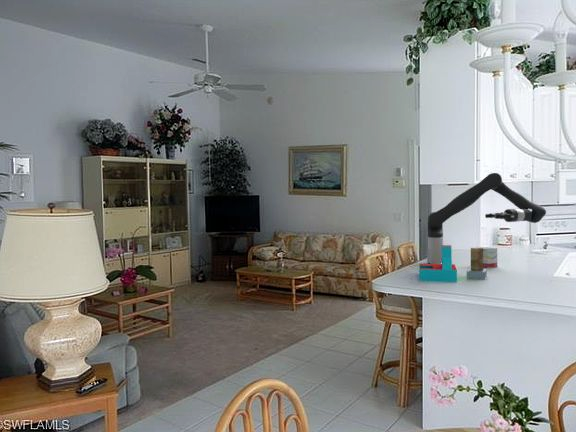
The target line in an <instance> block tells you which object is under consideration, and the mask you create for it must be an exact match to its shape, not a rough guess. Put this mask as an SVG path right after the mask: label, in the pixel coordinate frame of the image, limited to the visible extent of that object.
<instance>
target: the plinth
mask: <svg viewBox="0 0 576 432" xmlns="http://www.w3.org/2000/svg"><path fill="white" fill-rule="evenodd" d="M487 272H488V270H487V269H484V268H483V271H473V270H471V268H468V269H467V270H466V279H469V280H480V279H482V281H483V280H484V281H485V280H486V279H485V278H487V275H488V274H487Z"/></svg>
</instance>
